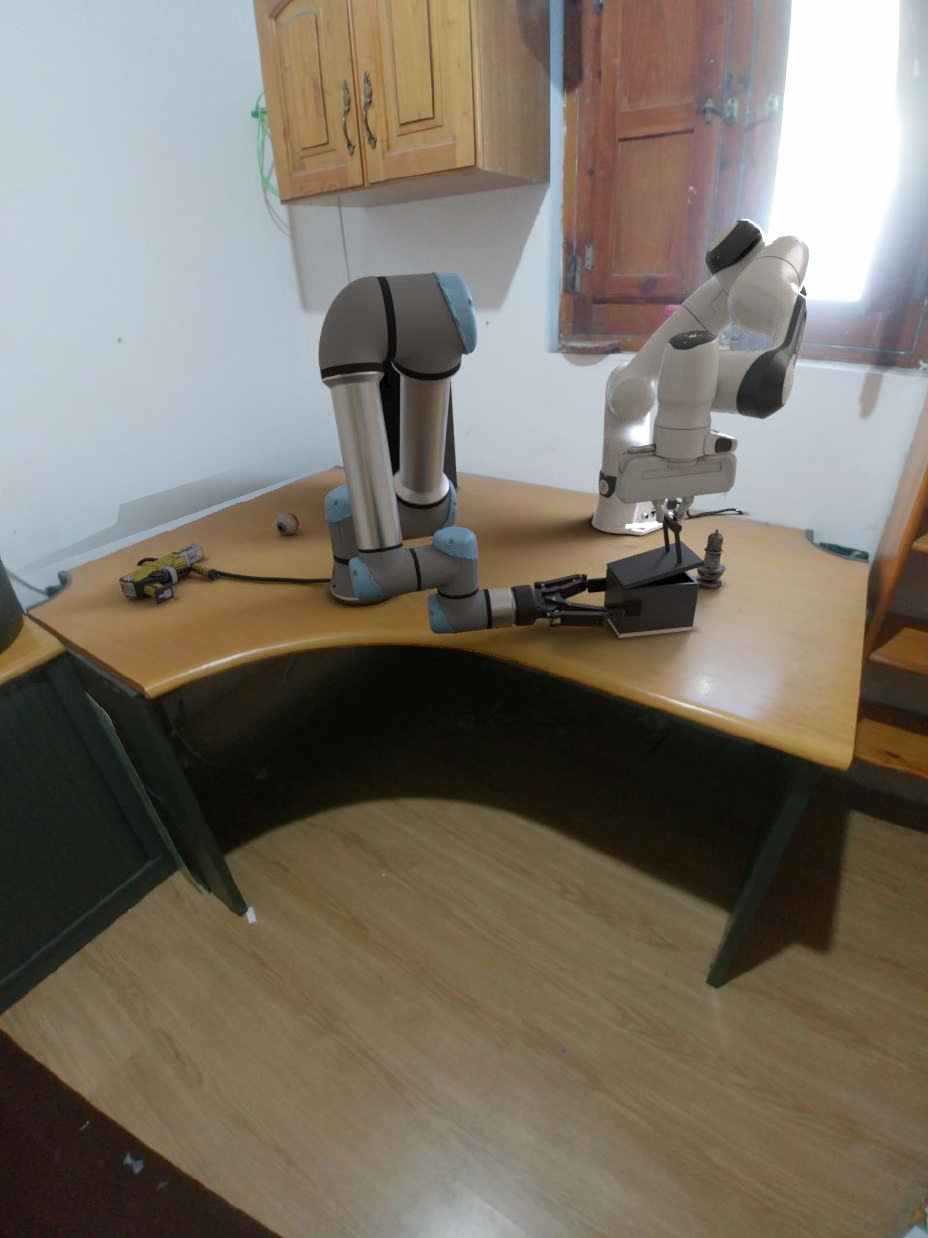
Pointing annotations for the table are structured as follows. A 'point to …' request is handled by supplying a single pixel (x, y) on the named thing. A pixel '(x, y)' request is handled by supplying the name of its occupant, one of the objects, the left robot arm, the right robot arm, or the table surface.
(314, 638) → the table surface
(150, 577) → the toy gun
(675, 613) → the chest
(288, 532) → the eyeball
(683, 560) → the lid
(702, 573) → the salt shaker
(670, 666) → the table surface
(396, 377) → the black computer tower
